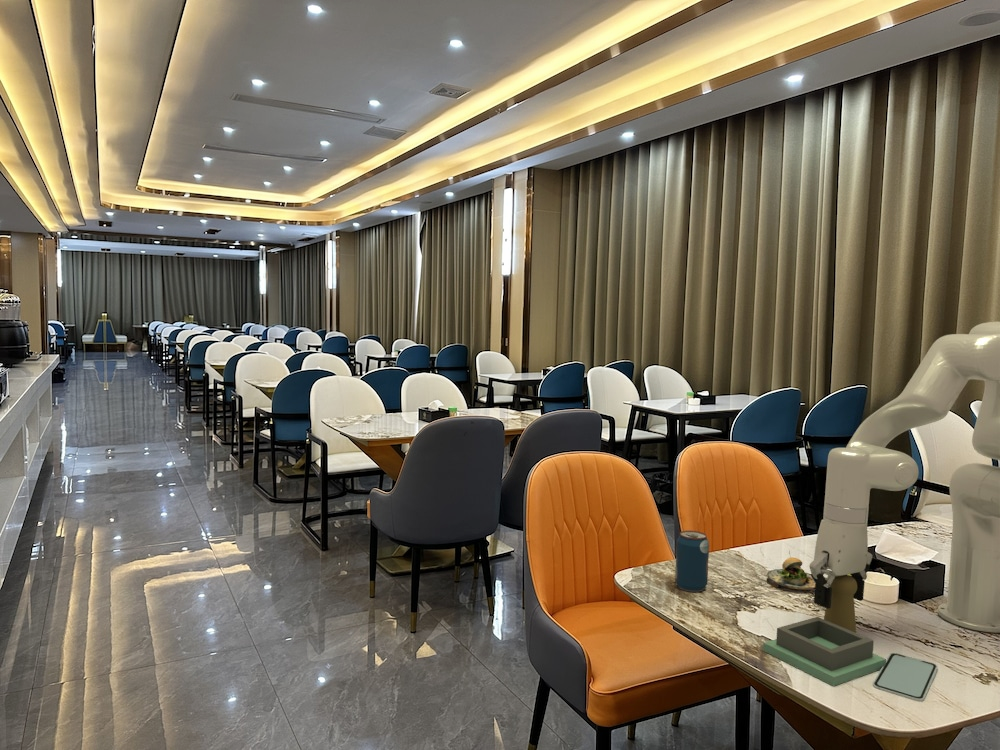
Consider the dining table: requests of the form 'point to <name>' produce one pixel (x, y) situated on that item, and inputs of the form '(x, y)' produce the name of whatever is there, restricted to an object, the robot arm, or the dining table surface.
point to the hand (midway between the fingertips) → (838, 602)
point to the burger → (791, 576)
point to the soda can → (692, 561)
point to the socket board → (825, 650)
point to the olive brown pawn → (842, 603)
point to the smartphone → (906, 676)
